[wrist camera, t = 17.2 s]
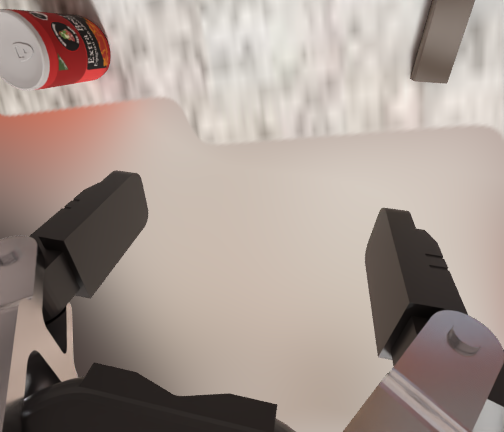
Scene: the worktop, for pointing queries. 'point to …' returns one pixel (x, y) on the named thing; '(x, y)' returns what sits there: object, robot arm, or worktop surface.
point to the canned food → (50, 49)
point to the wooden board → (441, 40)
